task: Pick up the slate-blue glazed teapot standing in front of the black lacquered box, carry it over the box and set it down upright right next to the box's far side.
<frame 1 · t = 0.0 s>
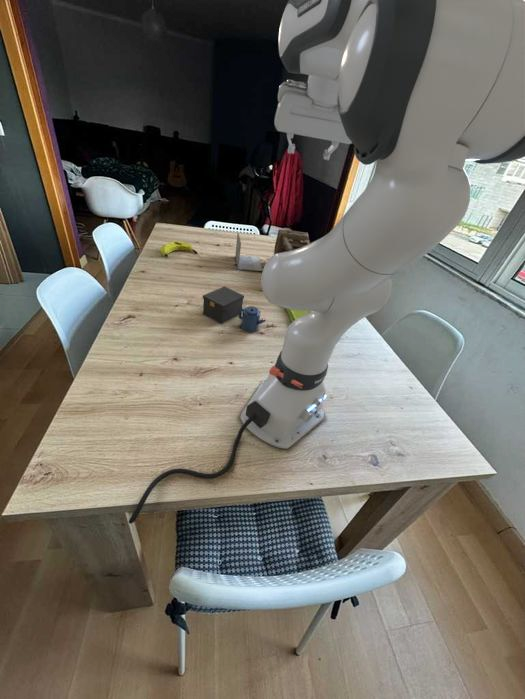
hand: (308, 155, 76), 52 cm above the table, tool tilted 20°, fingers open, 8 cm apart
ornamental box: (293, 276, 146), on the table
dish towel: (304, 313, 117), on the table
black box: (222, 313, 108), on the table
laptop: (248, 264, 150), on the table
banana: (178, 254, 147), on the table
teapot: (249, 327, 103), on the table
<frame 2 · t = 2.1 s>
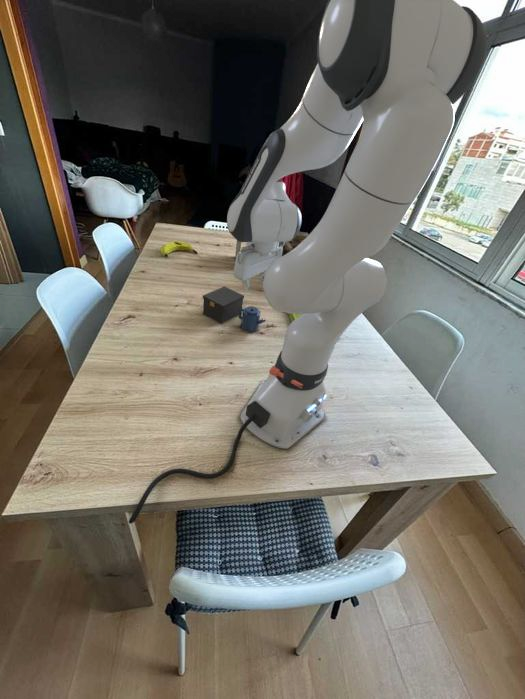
hand: (255, 285, 93), 16 cm above the table, tool pointing down, fingers open, 8 cm apart
nothing on the table moved.
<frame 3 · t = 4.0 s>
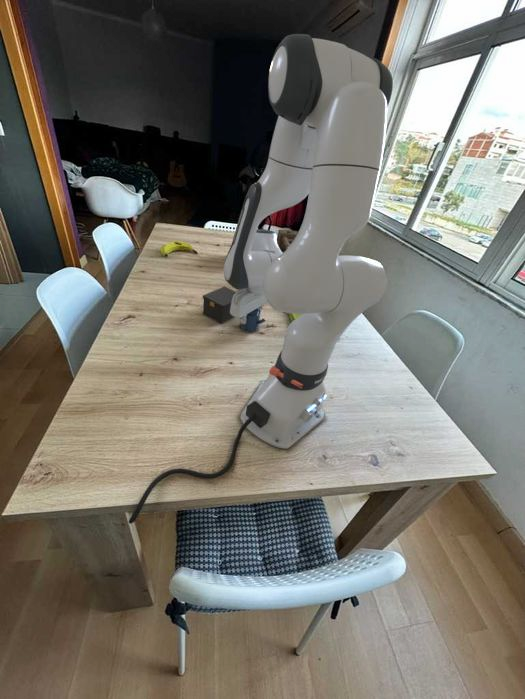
hand: (250, 319, 101), 3 cm above the table, tool pointing down, fingers closed on teapot, 6 cm apart
teapot: (249, 327, 103), on the table, touching gripper
everything else where it was.
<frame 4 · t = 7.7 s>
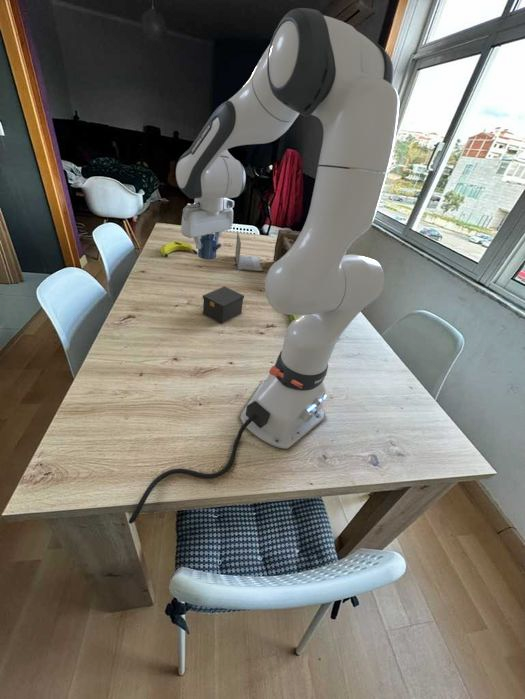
hand: (207, 246, 98), 22 cm above the table, tool pointing down, fingers closed on teapot, 6 cm apart
teapot: (207, 256, 100), point 19 cm above the table, touching gripper
everything else where it was.
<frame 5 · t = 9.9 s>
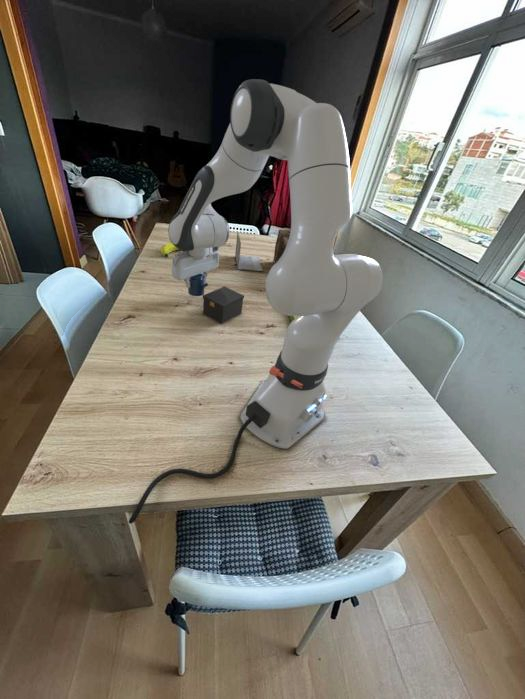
hand: (196, 284, 109), 6 cm above the table, tool pointing down, fingers closed on teapot, 6 cm apart
teapot: (196, 292, 111), point 3 cm above the table, touching gripper
everything else where it was.
when the fingers open (3 cm above the table, at t = 11.4 s): teapot stays where it is, on the table.
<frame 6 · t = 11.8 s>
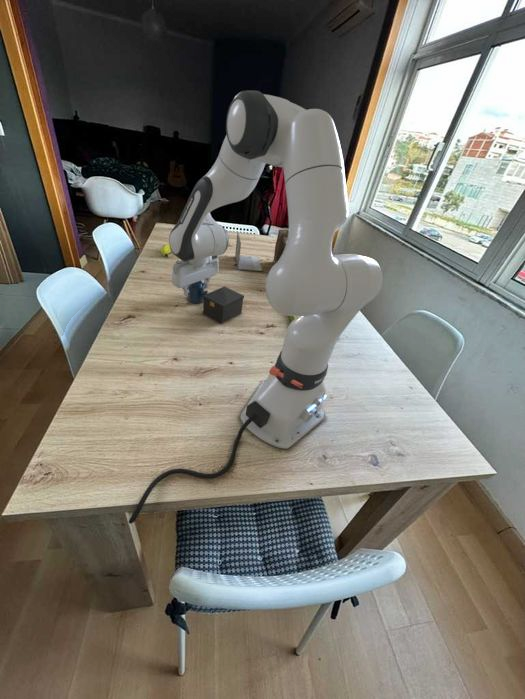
hand: (196, 291, 111), 4 cm above the table, tool pointing down, fingers open, 8 cm apart
teapot: (196, 299, 113), on the table
everything else where it was.
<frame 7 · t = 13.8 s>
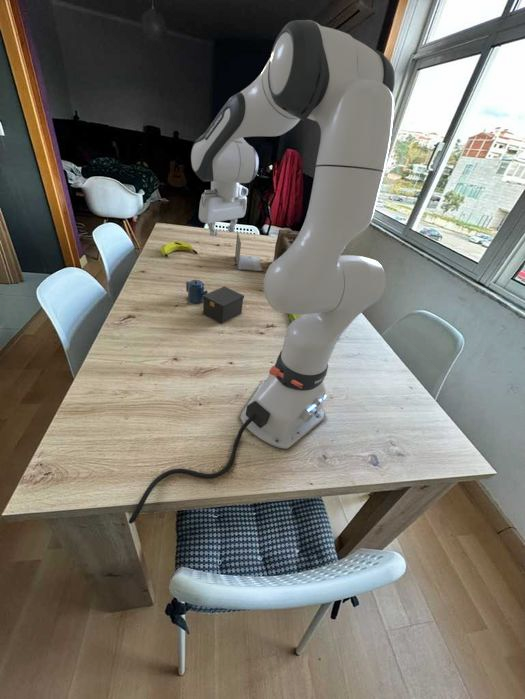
hand: (222, 233, 101), 25 cm above the table, tool pointing down, fingers open, 8 cm apart
nothing on the table moved.
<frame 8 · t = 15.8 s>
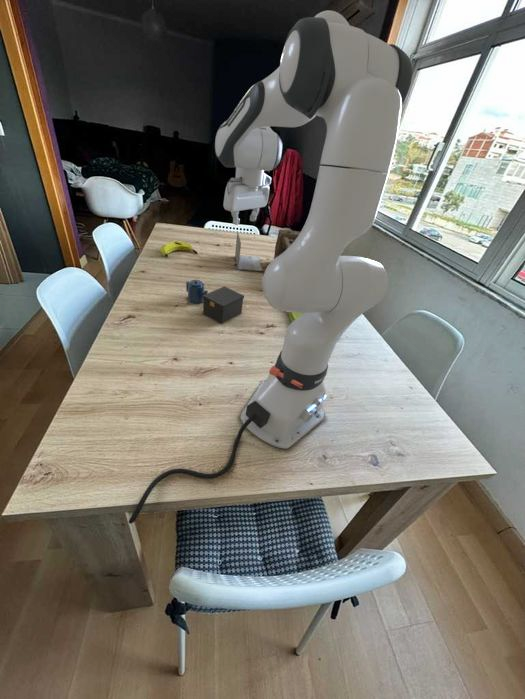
hand: (244, 222, 102), 29 cm above the table, tool pointing down, fingers open, 8 cm apart
nothing on the table moved.
at the end: teapot inside the target area on the table beside the black box (0.0 cm from its centre), on the table; teapot tilted 0°; the gripper is holding nothing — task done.
